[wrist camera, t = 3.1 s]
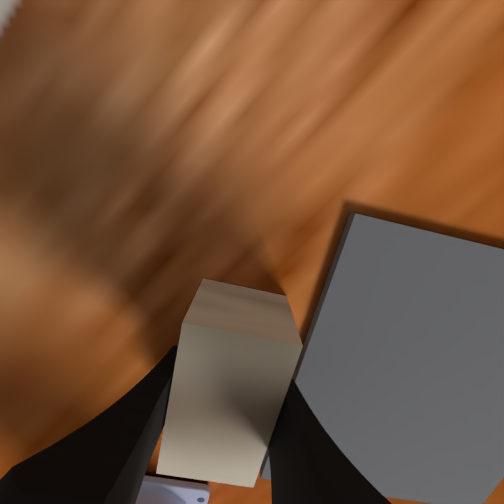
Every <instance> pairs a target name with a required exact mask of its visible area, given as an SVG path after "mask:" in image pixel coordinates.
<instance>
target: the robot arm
mask: <svg viewBox="0 0 504 504" xmlns="http://www.w3.org/2000/svg"><path fill="white" fill-rule="evenodd" d="M177 350H178V346H175V345H174V346H173V347H172V348H171V349H170V350H169V351H168V353H167V354H166V355H165V356H164V357H163V359H162V360H161V361H160V362H159V363H158V364H157V365H156V366H155V367H154V368H153V369H152V370H151V371H150V372H149V373H148V374H147V375H146V376H145V377H144V378H143V379H142V380H141V381H140V382H139V383H138V384H136V385H135V386H134V387H133V388H132V389H131V390H130V391H129V392H127V393H126V394H125V395H124V396H123V397H121V398H120V399H119V400H118V401H116V402H115V403H114V404H113V405H111V406H110V407H109V408H107V409H106V410H105V411H103V412H102V413H101V414H99V415H98V416H96V417H95V418H94V419H92V420H91V421H89V422H88V423H86V424H85V425H83V426H82V427H80V428H79V429H77V430H76V431H74V432H72V433H71V434H69V435H68V436H66V437H64V438H63V439H61V440H60V441H58V442H56V443H55V444H53V445H51V446H50V447H48V448H46V449H44V450H42V451H41V452H39V453H37V454H35V455H33V456H32V457H30V458H28V459H26V460H24V461H23V462H21V463H19V464H17V465H15V466H13V467H12V468H11V469H10V470H9V471H8V472H7V473H6V474H5V475H4V476H3V478H2V479H1V480H0V504H207V503H208V499H209V495H210V487H209V486H208V485H207V484H202V483H195V482H188V481H181V480H174V479H167V478H160V477H153V476H146V475H145V473H146V470H147V467H148V464H149V461H150V459H151V456H152V453H153V451H154V448H155V446H156V444H157V441H158V439H159V437H160V434H161V432H162V429H163V427H164V425H165V419H166V413H167V408H168V402H169V396H170V390H171V385H172V379H173V373H174V367H175V361H176V356H177ZM268 451H269V461H270V470H271V486H272V504H391V503H390V502H389V501H388V500H387V499H386V498H385V497H384V496H383V495H382V494H381V493H380V492H379V491H378V490H377V489H376V488H375V487H374V486H373V485H372V484H371V483H370V482H369V481H368V480H367V479H366V478H365V477H364V476H363V475H362V474H361V473H360V472H359V470H358V469H357V468H356V467H355V466H354V465H353V464H352V463H351V461H350V460H349V459H348V458H347V457H346V456H345V455H344V453H343V452H342V451H341V450H340V449H339V447H338V446H337V445H336V444H335V442H334V441H333V440H332V438H331V437H330V436H329V435H328V433H327V432H326V431H325V429H324V428H323V426H322V425H321V424H320V422H319V421H318V419H317V418H316V416H315V415H314V413H313V411H312V410H311V408H310V407H309V405H308V403H307V402H306V400H305V398H304V397H303V395H302V393H301V392H300V390H299V388H298V386H297V385H296V383H295V381H294V379H293V377H292V379H291V382H290V384H289V387H288V390H287V393H286V396H285V399H284V401H283V404H282V407H281V410H280V413H279V416H278V419H277V421H276V424H275V427H274V430H273V433H272V436H271V438H270V441H269V444H268Z"/></svg>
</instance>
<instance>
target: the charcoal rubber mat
mask: <svg viewBox="0 0 504 504" xmlns="http://www.w3.org/2000/svg"><path fill="white" fill-rule="evenodd" d="M292 377H293V379H294V381H295V383H296V385H297V386H298V388H299V390H300V392H301V393H302V395H303V397H304V398H305V400H306V402H307V403H308V405H309V407H310V408H311V410H312V411H313V413H314V415H315V416H316V418H317V419H318V421H319V422H320V424H321V425H322V426H323V428H324V429H325V431H326V432H327V433H328V435H329V436H330V437H331V438H332V440H333V441H334V442H335V444H336V445H337V446H338V447H339V449H340V450H341V451H342V452H343V453H344V455H345V456H346V457H347V458H348V459H349V460H350V461H351V463H352V464H353V465H354V466H355V467H356V468H357V469H358V470H359V472H360V473H361V474H362V475H363V476H364V477H365V478H366V479H367V480H368V481H369V482H370V483H371V484H372V485H373V486H374V487H375V488H376V489H377V490H378V491H379V492H380V493H381V494H382V495H383V496H384V497H391V498H397V499H404V500H411V501H418V502H424V503H431V504H483V503H484V502H485V500H486V499H487V498H488V496H489V495H490V494H491V493H492V491H493V490H494V489H495V488H496V486H497V485H498V484H499V482H500V481H501V480H502V479H503V477H504V249H501V248H497V247H493V246H489V245H485V244H481V243H477V242H473V241H468V240H464V239H460V238H456V237H452V236H448V235H444V234H440V233H436V232H431V231H427V230H423V229H419V228H415V227H411V226H407V225H403V224H399V223H394V222H390V221H386V220H382V219H378V218H374V217H370V216H366V215H362V214H357V213H353V212H350V214H349V216H348V219H347V222H346V225H345V228H344V231H343V234H342V236H341V239H340V242H339V245H338V248H337V251H336V253H335V256H334V259H333V262H332V265H331V268H330V271H329V273H328V276H327V279H326V282H325V285H324V288H323V290H322V293H321V296H320V299H319V302H318V305H317V308H316V310H315V313H314V316H313V319H312V322H311V325H310V328H309V330H308V333H307V336H306V339H305V342H304V345H303V347H302V350H301V353H300V356H299V359H298V362H297V365H296V367H295V370H294V373H293V376H292ZM260 474H261V478H262V479H269V480H271V470H270V461H269V451H268V447H267V450H266V453H265V456H264V459H263V461H262V464H261V467H260Z"/></svg>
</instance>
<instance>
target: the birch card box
mask: <svg viewBox="0 0 504 504" xmlns="http://www.w3.org/2000/svg"><path fill="white" fill-rule="evenodd" d="M302 347H303V345H302V342H301V339H300V335H299V332H298V329H297V326H296V323H295V320H294V317H293V314H292V311H291V308H290V305H289V301H288V298H287V296H285V295H280V294H275V293H270V292H266V291H261V290H256V289H251V288H247V287H242V286H237V285H232V284H228V283H223V282H218V281H213V280H208V279H204V278H203V280H202V282H201V284H200V286H199V288H198V290H197V292H196V294H195V297H194V299H193V301H192V303H191V305H190V307H189V309H188V311H187V314H186V316H185V318H184V320H183V322H182V327H181V333H180V338H179V344H178V350H177V356H176V361H175V367H174V373H173V379H172V385H171V390H170V396H169V402H168V408H167V413H166V419H165V425H164V431H163V436H162V442H161V448H160V454H159V460H158V465H157V471H156V474H163V475H170V476H176V477H183V478H190V479H197V480H204V481H211V482H218V483H225V484H232V485H239V486H245V487H252V488H253V487H254V484H255V481H256V478H257V476H258V473H259V470H260V467H261V464H262V461H263V458H264V456H265V453H266V450H267V447H268V444H269V441H270V438H271V436H272V433H273V430H274V427H275V424H276V421H277V419H278V416H279V413H280V410H281V407H282V404H283V401H284V399H285V396H286V393H287V390H288V387H289V384H290V382H291V379H292V376H293V373H294V370H295V367H296V364H297V362H298V359H299V356H300V353H301V350H302Z"/></svg>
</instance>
